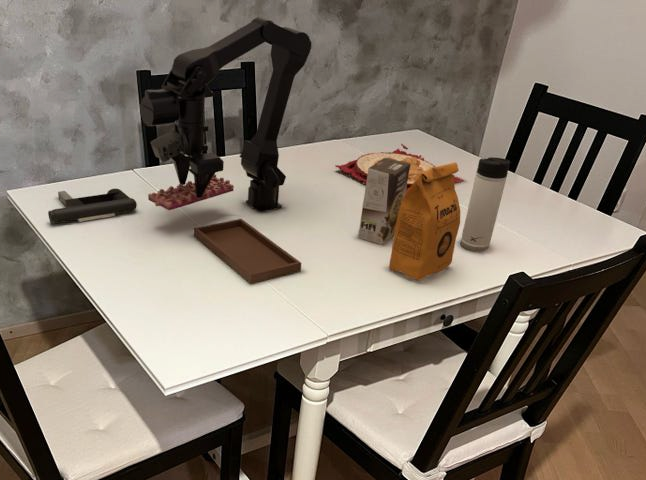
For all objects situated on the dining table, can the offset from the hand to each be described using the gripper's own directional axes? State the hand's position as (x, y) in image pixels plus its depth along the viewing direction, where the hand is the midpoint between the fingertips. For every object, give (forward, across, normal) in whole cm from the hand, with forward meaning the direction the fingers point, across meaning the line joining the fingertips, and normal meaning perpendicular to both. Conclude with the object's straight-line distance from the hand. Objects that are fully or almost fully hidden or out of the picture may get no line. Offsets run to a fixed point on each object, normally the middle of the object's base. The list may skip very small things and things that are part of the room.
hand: (190, 191), depth 164 cm
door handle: (+8, -17, -18) cm, 26 cm away
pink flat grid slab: (+1, 0, 0) cm, 1 cm away
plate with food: (+8, -3, +64) cm, 65 cm away
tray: (+7, +19, +3) cm, 21 cm away
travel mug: (+8, +38, +51) cm, 64 cm away
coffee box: (+8, +24, +35) cm, 43 cm away
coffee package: (+8, +41, +32) cm, 53 cm away
